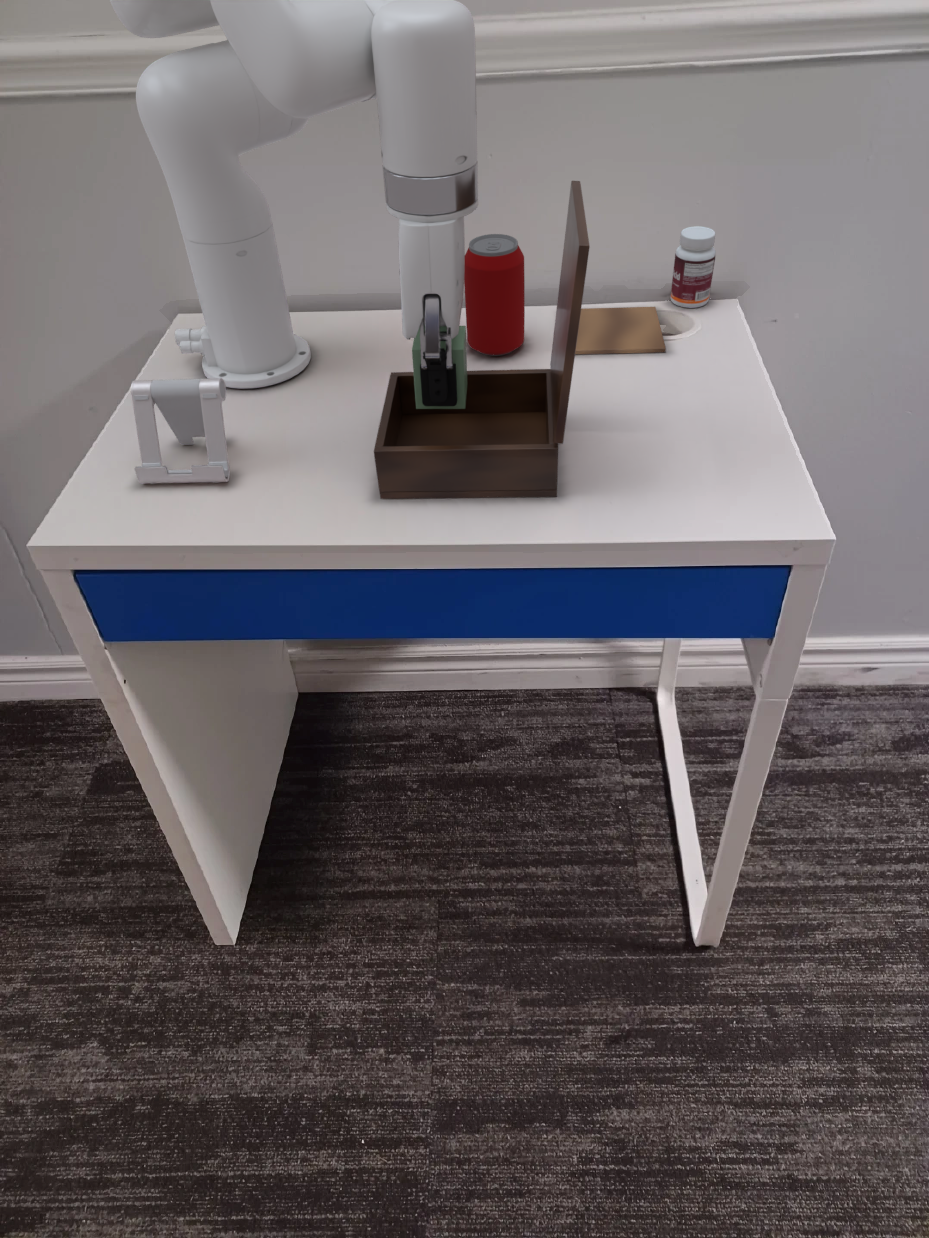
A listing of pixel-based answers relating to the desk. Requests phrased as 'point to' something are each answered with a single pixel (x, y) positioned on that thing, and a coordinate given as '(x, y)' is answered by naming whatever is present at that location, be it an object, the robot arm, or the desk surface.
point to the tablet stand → (181, 427)
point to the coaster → (619, 331)
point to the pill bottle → (693, 267)
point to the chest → (470, 439)
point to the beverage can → (494, 294)
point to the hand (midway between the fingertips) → (441, 387)
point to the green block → (458, 359)
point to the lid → (568, 308)
